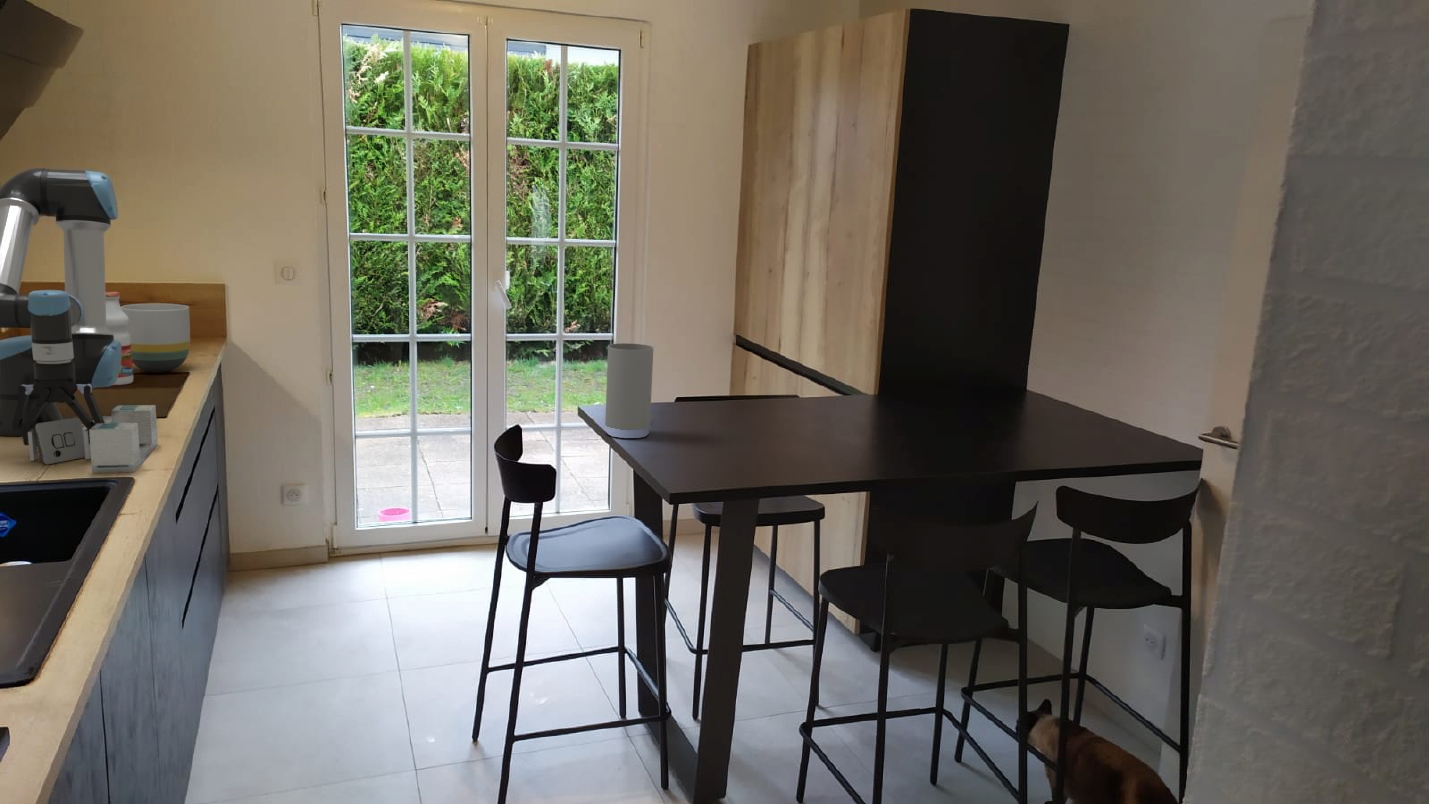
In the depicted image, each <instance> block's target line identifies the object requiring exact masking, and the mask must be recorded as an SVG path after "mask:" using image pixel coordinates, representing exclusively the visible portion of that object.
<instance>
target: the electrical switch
mask: <svg viewBox="0 0 1429 804" xmlns="http://www.w3.org/2000/svg"><path fill="white" fill-rule="evenodd" d="M83 427H84V426H83V423H82V422H81V420H80V419H79V418H78V417H72V418H71V417H69V418H65V419H64V418H63V420H57V421H50V422H44V423H38V424H36V426H35V428H33V431H34V435H35V440H36V444H37V452H38V457H39V459H40V462H41V463H44V464H45V465H53V464H57V463H58V464H59V463H62V462H69V461H73V460H74V461H75V460H79V459H84V458H85V448H84V434H83ZM66 433H67V434H66Z"/></svg>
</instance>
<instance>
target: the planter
mask: <svg viewBox="0 0 1429 804" xmlns="http://www.w3.org/2000/svg"><path fill="white" fill-rule="evenodd" d="M120 306H121V305H120ZM121 309H122V310H123V312H124V313H125V314H126V315H127V316H128V318H129V327H128V332H129V334H130V337H131V349H132V365H134V366H136V367H137V368H139V369H141V370H142V371H146V372H149V373H150V372H151V373H164V372H170V371H173V370H176V369H177V368H179V367H180V366H181V365H183V363H184V362H185V361H187V359H188V355H189V352H190V348H191V347H190V346H191V324H190V323H191V321H190V319H191V318H190V306H189V305H185V304H175V303H135V304H134V303H131V304H125V305H122V306H121Z"/></svg>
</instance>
